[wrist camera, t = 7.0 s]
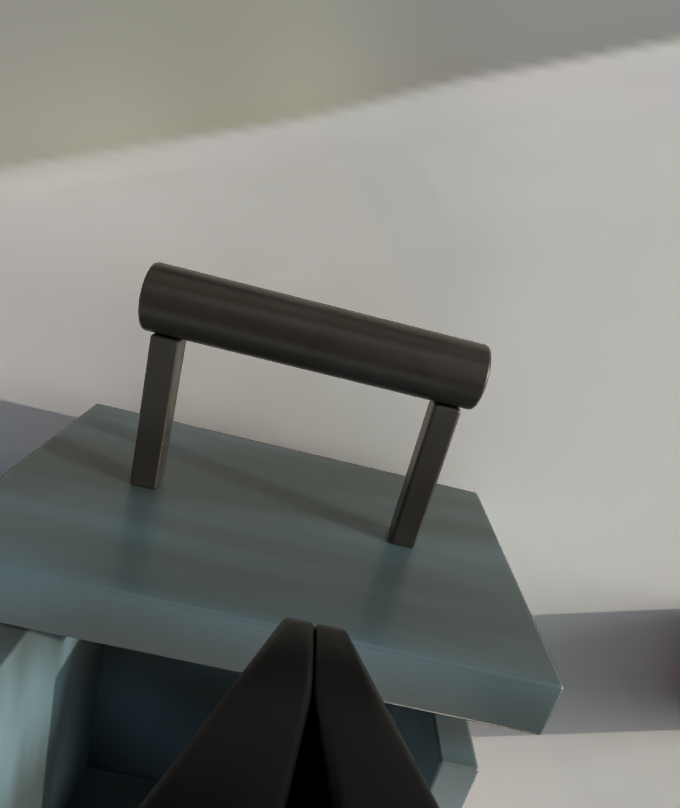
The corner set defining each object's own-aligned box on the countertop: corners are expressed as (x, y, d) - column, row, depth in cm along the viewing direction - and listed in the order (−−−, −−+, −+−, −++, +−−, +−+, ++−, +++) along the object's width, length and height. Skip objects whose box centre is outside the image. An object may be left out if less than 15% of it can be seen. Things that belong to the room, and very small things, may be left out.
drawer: (116, 228, 15) (-95, 244, 8) (535, 335, 15) (689, 438, 8) (57, 744, 20) (-93, 1017, 13) (361, 804, 21) (367, 1092, 14)
